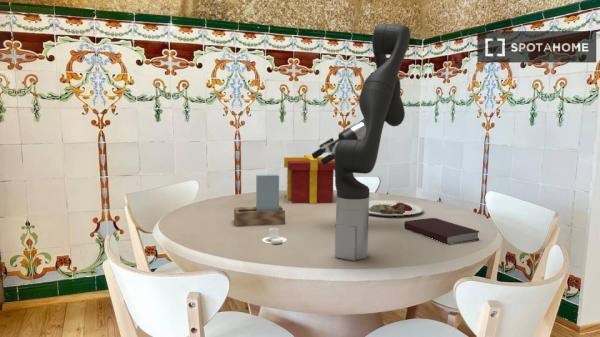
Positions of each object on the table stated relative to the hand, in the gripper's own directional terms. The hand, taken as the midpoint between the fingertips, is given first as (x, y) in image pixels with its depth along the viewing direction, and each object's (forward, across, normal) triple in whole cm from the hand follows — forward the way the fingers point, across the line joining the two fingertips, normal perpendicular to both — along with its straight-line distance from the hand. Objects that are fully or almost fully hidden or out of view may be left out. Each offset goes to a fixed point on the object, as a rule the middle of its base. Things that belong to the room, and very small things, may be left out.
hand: (317, 159), depth 155 cm
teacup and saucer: (+31, +16, +8) cm, 36 cm away
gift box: (+1, -45, +36) cm, 58 cm away
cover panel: (+26, -7, +14) cm, 31 cm away
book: (-20, +26, +37) cm, 50 cm away
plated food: (-20, -12, +44) cm, 50 cm away
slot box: (+29, -9, +13) cm, 33 cm away
